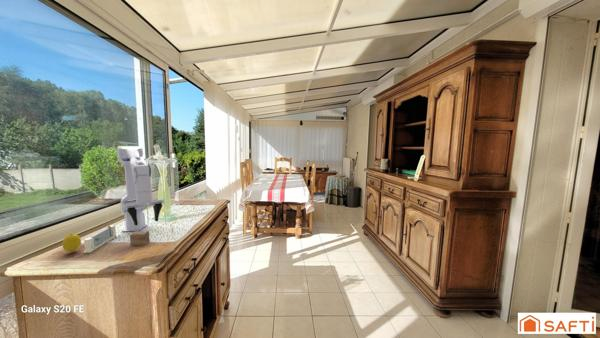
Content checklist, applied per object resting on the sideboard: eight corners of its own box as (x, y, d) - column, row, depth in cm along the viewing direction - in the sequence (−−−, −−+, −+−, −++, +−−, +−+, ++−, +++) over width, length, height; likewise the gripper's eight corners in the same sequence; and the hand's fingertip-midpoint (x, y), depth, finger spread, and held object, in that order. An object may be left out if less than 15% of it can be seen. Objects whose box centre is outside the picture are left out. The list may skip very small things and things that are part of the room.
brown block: (135, 242, 107) (134, 231, 106) (149, 241, 108) (148, 230, 108) (130, 245, 103) (129, 234, 102) (145, 244, 104) (144, 233, 104)
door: (109, 236, 111) (108, 225, 111) (113, 236, 112) (113, 225, 111) (91, 247, 100) (90, 235, 99) (96, 246, 100) (95, 235, 99)
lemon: (60, 256, 93) (58, 237, 92) (66, 251, 98) (64, 232, 97) (79, 253, 95) (77, 234, 94) (84, 248, 100) (82, 230, 99)
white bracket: (110, 236, 114) (110, 225, 113) (116, 235, 114) (115, 225, 114) (83, 253, 96) (82, 240, 95) (90, 252, 96) (89, 239, 96)
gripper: (125, 194, 93) (128, 227, 93) (165, 189, 104) (168, 219, 104) (121, 194, 98) (124, 226, 98) (159, 190, 109) (162, 218, 109)
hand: (146, 223), depth 101 cm, fingers open, 7 cm apart
